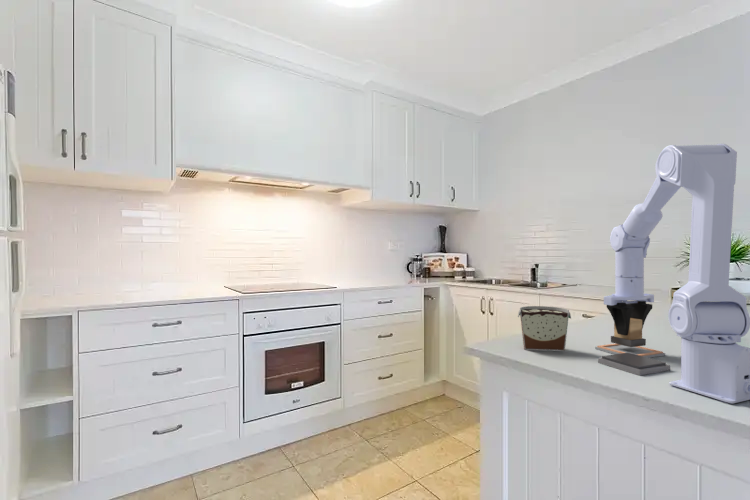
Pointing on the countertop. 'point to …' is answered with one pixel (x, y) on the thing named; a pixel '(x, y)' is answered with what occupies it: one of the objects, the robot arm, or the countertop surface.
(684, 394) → the countertop surface
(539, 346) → the food container
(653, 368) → the pad
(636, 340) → the stamp
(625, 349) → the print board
